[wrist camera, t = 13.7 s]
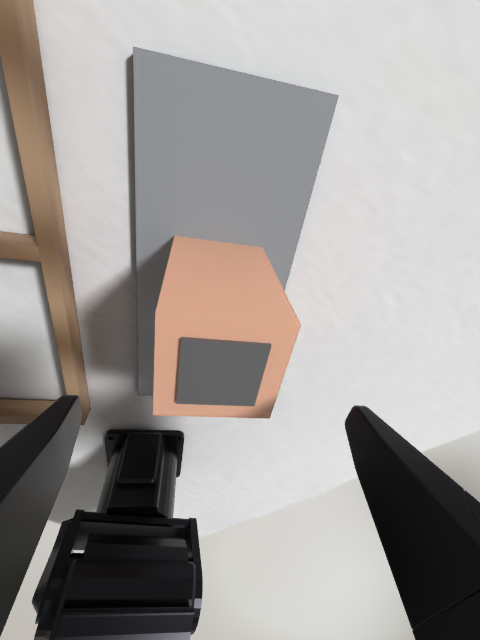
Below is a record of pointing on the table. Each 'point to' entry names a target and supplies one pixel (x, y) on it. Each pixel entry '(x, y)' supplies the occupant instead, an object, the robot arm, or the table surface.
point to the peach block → (220, 332)
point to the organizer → (39, 203)
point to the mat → (217, 169)
